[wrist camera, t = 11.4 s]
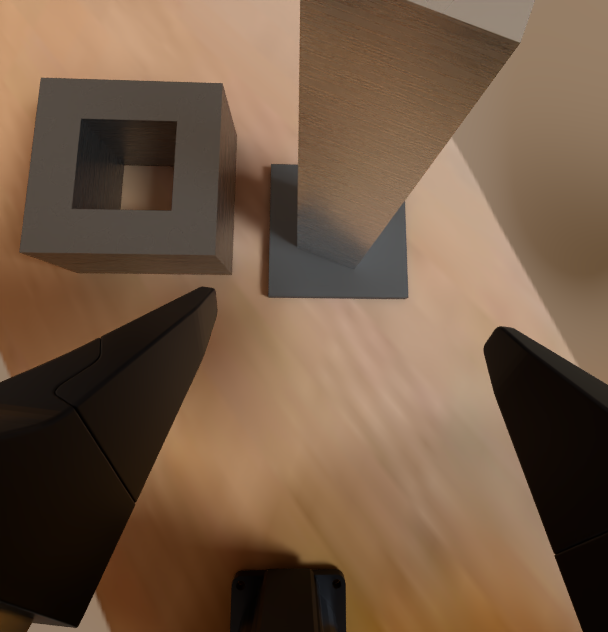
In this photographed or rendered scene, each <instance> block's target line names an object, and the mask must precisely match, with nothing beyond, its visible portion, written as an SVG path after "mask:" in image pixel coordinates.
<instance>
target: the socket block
mask: <svg viewBox="0 0 608 632" xmlns="http://www.w3.org/2000/svg"><path fill="white" fill-rule="evenodd" d="M236 146H237V134H236V130H235V127H234V123H233V120H232V116H231V112H230V109H229V105H228V101H227V98H226V94H225V90H224V87H223V83H194V82H162V81H130V80H98V79H65V78H41V81H40V89H39V97H38V105H37V113H36V121H35V130H34V138H33V146H32V154H31V162H30V170H29V178H28V186H27V194H26V203H25V211H24V219H23V227H22V235H21V243H20V251H19V252H20V253H23V254H26V255H28V256H31V257H34V258H37V259H40V260H43V261H46V262H48V263H51V264H54V265H57V266H60V267H63V268H65V269H68V270H71V271H74V272H77V273H133V274H210V275H232V258H233V230H234V202H235V174H236ZM124 165H152V166H174V179H173V196H172V211H157V210H120V207H121V195H122V183H123V171H124Z"/></svg>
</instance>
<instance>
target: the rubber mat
mask: <svg viewBox="0 0 608 632" xmlns="http://www.w3.org/2000/svg"><path fill="white" fill-rule="evenodd" d="M297 214H298V165H287V164H271V200H270V248H269V298H354V299H406V298H408V275H407V247H406V219H405V201H404V202H403V204H402V205H401V206H400V208H399V209H398V211H397V212H396V213H395V215H394V216H393V217H392V219H391V220H390V221H389V223H388V224H387V226H386V227H385V228H384V230H383V231H382V232H381V234H380V235H379V236H378V238H377V239H376V241H375V242H374V243H373V245H372V246H371V247H370V249H369V250H368V252H367V253H366V254H365V256H364V257H363V258H362V260H361V261H360V262H359V264H358V265H357V267H356V268H355V269H352V268H349V267H347V266H344V265H341V264H339V263H336V262H334V261H331V260H329V259H326V258H324V257H321V256H318V255H316V254H313V253H311V252H308V251H306V250H303V249H301V248H298V247H297Z"/></svg>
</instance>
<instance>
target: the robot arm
mask: <svg viewBox="0 0 608 632" xmlns="http://www.w3.org/2000/svg"><path fill="white" fill-rule="evenodd" d="M216 317H217V300H216V291H215V289H214V288H209V287H199V288H197V289H195V290H193V291H191V292H189V293H187V294H185V295H183V296H181V297H179V298H177V299H175V300H174V301H172V302H170V303H168V304H166V305H164V306H162V307H160V308H158V309H156V310H154V311H152V312H150V313H148V314H146V315H144V316H142V317H140V318H138V319H136V320H134V321H132V322H130V323H128V324H126V325H124V326H122V327H120V328H118V329H116V330H114V331H112V332H109V333H107V334H105V335H103V336H102V337H101V338H97V339H95V340H93V341H91V342H89V343H87V344H85V345H83V346H81V347H79V348H77V349H75V350H73V351H71V352H69V353H67V354H65V355H62V356H60V357H58V358H56V359H53V360H51V361H49V362H46V363H44V364H42V365H40V366H37V367H35V368H33V369H30V370H28V371H26V372H23V373H21V374H18V375H16V376H14V377H11V378H9V379H7V380H4V381H2V382H0V632H27V631H28V629H29V627H30V625H31V624H32V623H39V624H47V625H57V626H64V627H73V628H77V627H78V626H79V624H80V622H81V620H82V618H83V616H84V614H85V612H86V610H87V607H88V605H89V603H90V601H91V598H92V597H93V595H94V592H95V590H96V588H97V586H98V584H99V582H100V579H101V577H102V575H103V573H104V571H105V569H106V567H107V564H108V562H109V560H110V558H111V556H112V554H113V551H114V549H115V547H116V545H117V543H118V541H119V538H120V536H121V534H122V532H123V530H124V528H125V526H126V523H127V521H128V519H129V517H130V515H131V513H132V510H133V508H134V506H135V502H136V501H137V499H138V497H139V495H140V493H141V491H142V489H143V486H144V484H145V482H146V480H147V478H148V476H149V473H150V471H151V469H152V467H153V465H154V463H155V461H156V458H157V456H158V454H159V452H160V450H161V448H162V445H163V443H164V441H165V439H166V437H167V435H168V433H169V430H170V428H171V426H172V424H173V422H174V420H175V417H176V415H177V413H178V411H179V409H180V407H181V405H182V402H183V400H184V398H185V396H186V394H187V392H188V389H189V387H190V385H191V383H192V381H193V379H194V377H195V374H196V372H197V370H198V368H199V366H200V364H201V361H202V359H203V357H204V354H205V351H206V348H207V345H208V342H209V339H210V336H211V332H212V329H213V326H214V323H215V320H216ZM484 356H485V360H486V364H487V368H488V372H489V376H490V380H491V384H492V387H493V391H494V394H495V397H496V400H497V403H498V406H499V408H500V411H501V414H502V416H503V419H504V422H505V424H506V427H507V430H508V432H509V435H510V438H511V440H512V443H513V446H514V448H515V451H516V454H517V456H518V459H519V462H520V464H521V467H522V470H523V472H524V475H525V478H526V480H527V483H528V486H529V488H530V491H531V494H532V496H533V499H534V502H535V504H536V507H537V510H538V512H539V515H540V518H541V520H542V523H543V526H544V528H545V531H546V534H547V536H548V539H549V542H550V545H551V547H552V550H553V552H554V554H555V559H556V561H557V564H558V567H559V569H560V572H561V575H562V577H563V580H564V583H565V585H566V588H567V591H568V593H569V596H570V599H571V601H572V604H573V607H574V609H575V612H576V615H577V618H578V620H579V623H580V626H581V628H582V631H583V632H608V385H607V384H605V383H604V382H602V381H600V380H599V379H597V378H595V377H594V376H592V375H590V374H588V373H587V372H585V371H584V370H582V369H581V368H579V367H577V366H576V365H574V364H572V363H571V362H569V361H567V360H566V359H564V358H562V357H561V356H559V355H557V354H556V353H554V352H552V351H551V350H549V349H547V348H546V347H544V346H542V345H541V344H539V343H537V342H536V341H534V340H532V339H531V338H529V337H527V336H526V335H524V334H522V333H521V332H519V331H517V330H516V329H514V328H511V327H503V326H500V327H497V328H496V329H495V330H494V332H493V333H492V335H491V336H490V337H489V339H488V340H487V342H486V343H485V345H484ZM335 579H338V580H340V581H339V582H338V583H333V581H334V580H335ZM238 581H243V582H244V583H245V584H243V585H240V584H239V583H238ZM230 632H346V584H345V579H344V575H343V573H342V572H341V571H340V570H337V569H318V570H310V569H268V570H250V571H239V572H237V573H236V574H235V576H234V578H233V582H232V593H231V624H230Z"/></svg>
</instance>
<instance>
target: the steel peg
mask: <svg viewBox="0 0 608 632" xmlns="http://www.w3.org/2000/svg"><path fill="white" fill-rule="evenodd" d="M534 2H535V0H300V59H299V136H298V214H297V247H298V248H301V249H303V250H306V251H308V252H311V253H313V254H316V255H318V256H321V257H324V258H326V259H329V260H331V261H334V262H336V263H339V264H341V265H344V266H347V267H349V268H352V269H355V268H356V267H357V265H358V264H359V262H360V261H361V260H362V258H363V257H364V256H365V254H366V253H367V252H368V250H369V249H370V247H371V246H372V245H373V243H374V242H375V241H376V239H377V238H378V236H379V235H380V234H381V232H382V231H383V230H384V228H385V227H386V226H387V224H388V223H389V221H390V220H391V219H392V217H393V216H394V215H395V213H396V212H397V211H398V209H399V208H400V206H401V205H402V204H403V202H404V201H405V200H406V198H407V197H408V196H409V194H410V193H411V191H412V190H413V189H414V187H415V186H416V185H417V183H418V182H419V180H420V179H421V178H422V176H423V175H424V174H425V172H426V171H427V170H428V168H429V167H430V165H431V164H432V163H433V161H434V160H435V159H436V157H437V156H438V155H439V153H440V152H441V150H442V149H443V148H444V146H445V145H446V144H447V142H448V141H449V139H450V138H451V137H452V135H453V134H454V133H455V131H456V130H457V128H458V127H459V126H460V124H461V123H462V122H463V120H464V119H465V118H466V116H467V115H468V114H469V112H470V111H471V109H472V108H473V107H474V105H475V104H476V103H477V101H478V100H479V98H480V97H481V96H482V94H483V93H484V92H485V90H486V89H487V87H488V86H489V85H490V83H491V82H492V81H493V79H494V78H495V77H496V75H497V74H498V72H499V71H500V70H501V68H502V67H503V66H504V64H505V63H506V61H507V60H508V59H509V58H510V56H511V55H512V53H513V52H514V51H515V49H516V48H517V47H518V45H519V44H520V42H521V39H522V36H523V33H524V31H525V28H526V25H527V22H528V19H529V16H530V13H531V10H532V7H533V4H534Z"/></svg>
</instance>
